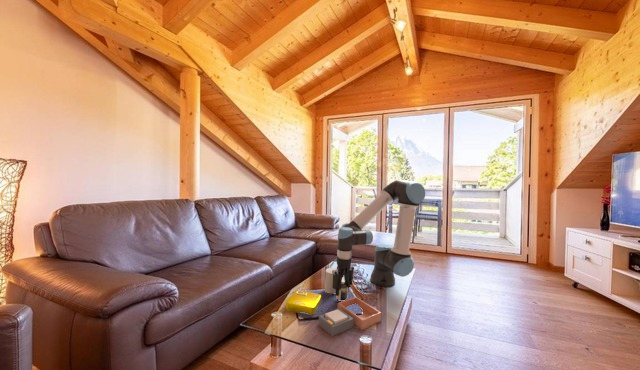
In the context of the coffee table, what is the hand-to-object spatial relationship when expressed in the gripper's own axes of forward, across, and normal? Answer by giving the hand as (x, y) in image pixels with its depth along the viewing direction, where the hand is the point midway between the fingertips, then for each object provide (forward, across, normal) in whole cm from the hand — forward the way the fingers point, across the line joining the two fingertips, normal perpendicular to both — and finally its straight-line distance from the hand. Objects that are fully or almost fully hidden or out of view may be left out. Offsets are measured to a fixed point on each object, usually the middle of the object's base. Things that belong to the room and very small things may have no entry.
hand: (341, 299), depth 149 cm
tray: (+1, +3, +16) cm, 16 cm away
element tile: (+1, +20, -6) cm, 21 cm away
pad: (-2, +17, +16) cm, 24 cm away
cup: (+1, -2, -11) cm, 11 cm away
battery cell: (0, 0, 0) cm, 0 cm away
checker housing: (0, +17, +16) cm, 23 cm away
